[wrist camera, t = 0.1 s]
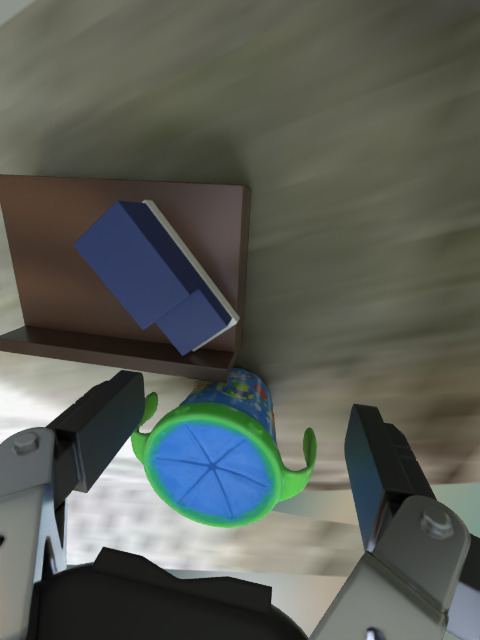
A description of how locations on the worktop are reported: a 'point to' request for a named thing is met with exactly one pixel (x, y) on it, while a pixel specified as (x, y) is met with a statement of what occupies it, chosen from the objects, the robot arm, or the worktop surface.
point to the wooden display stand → (91, 292)
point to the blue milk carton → (155, 275)
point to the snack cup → (220, 453)
